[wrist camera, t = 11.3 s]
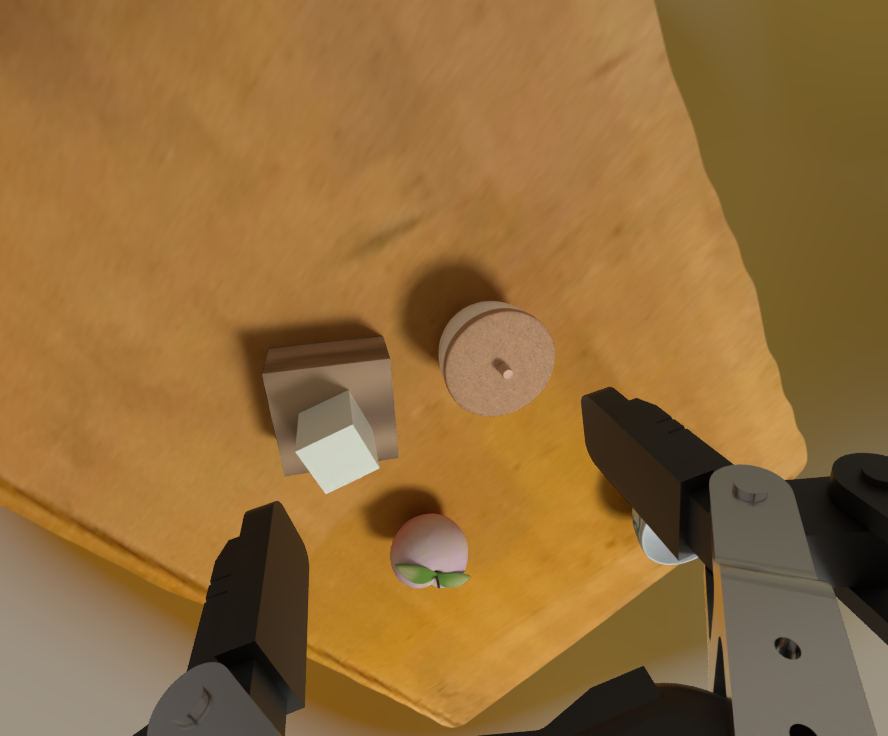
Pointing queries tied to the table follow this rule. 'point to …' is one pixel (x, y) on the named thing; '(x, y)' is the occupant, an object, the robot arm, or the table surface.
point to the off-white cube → (336, 442)
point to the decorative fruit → (430, 552)
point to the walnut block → (330, 390)
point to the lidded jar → (495, 358)
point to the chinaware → (654, 543)
